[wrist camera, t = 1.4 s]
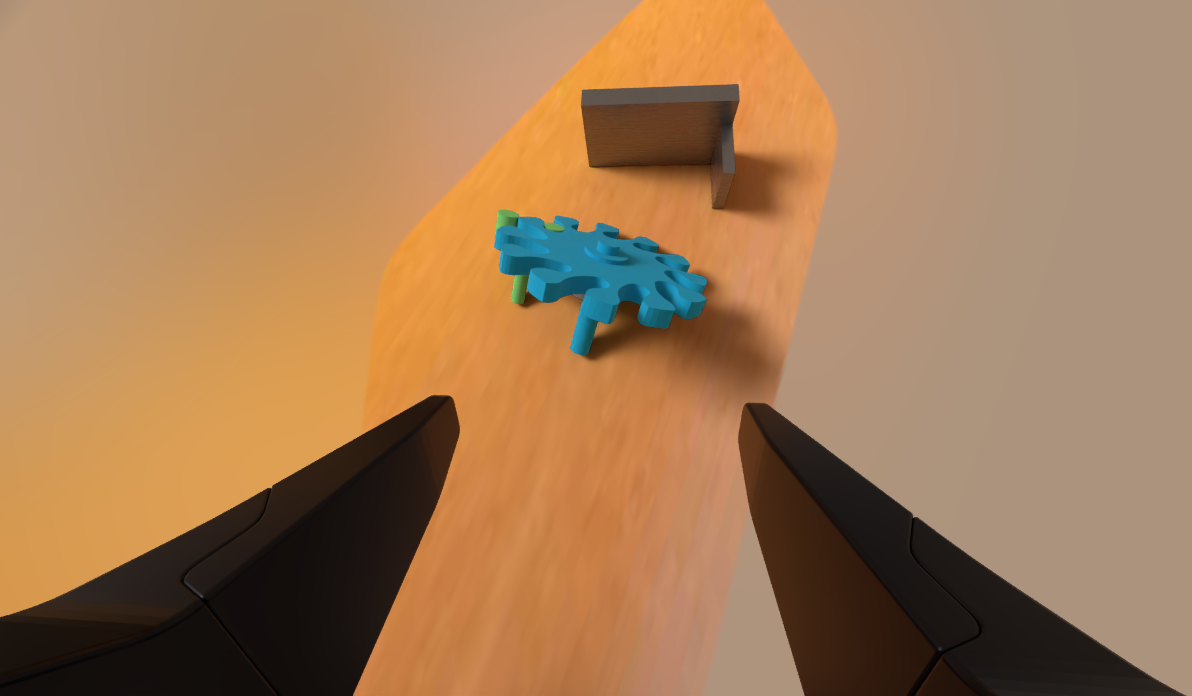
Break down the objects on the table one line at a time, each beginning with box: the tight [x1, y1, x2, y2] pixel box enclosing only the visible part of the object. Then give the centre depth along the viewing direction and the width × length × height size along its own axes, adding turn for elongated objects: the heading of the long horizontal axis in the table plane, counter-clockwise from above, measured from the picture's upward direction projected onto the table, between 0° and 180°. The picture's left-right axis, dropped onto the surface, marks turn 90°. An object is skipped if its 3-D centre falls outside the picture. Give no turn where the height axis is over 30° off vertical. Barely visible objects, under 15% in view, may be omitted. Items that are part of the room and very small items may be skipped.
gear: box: [494, 210, 707, 355], centre depth 21 cm, size 11×6×10 cm
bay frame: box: [581, 84, 739, 208], centre depth 23 cm, size 4×8×4 cm, turn 88°
